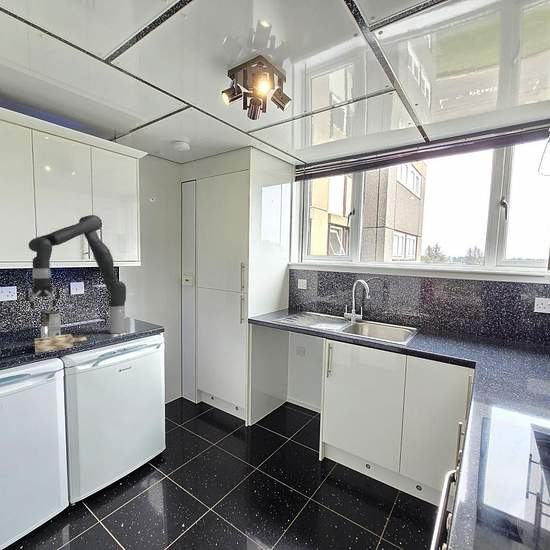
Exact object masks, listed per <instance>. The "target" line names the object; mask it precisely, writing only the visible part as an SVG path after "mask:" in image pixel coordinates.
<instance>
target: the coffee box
mask: <svg viewBox="0 0 550 550" xmlns="http://www.w3.org/2000/svg"><path fill="white" fill-rule="evenodd" d="M41 326H48V337H51V336H59V335H62V334H61V333H62V332H61V329H62V328H61V327H62V325H61V311H57V310H53V309H51V310H45V311H44V310H43V311H40V327H41Z"/></svg>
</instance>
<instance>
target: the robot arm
mask: <svg viewBox="0 0 550 550" xmlns="http://www.w3.org/2000/svg"><path fill="white" fill-rule="evenodd" d="M102 226H103V221H102V219H101V218H100V216H98V215H95V214H91V215H86V216H82V217H80V218H79V220H78V223H76V224H72V225H69V226H66V227H63V228H60V229H58V230H57V229H56V230H55V231H52V232H50V233H48V234H44V235H41V236H40V235H39V236H37V237H34V238H32V239H31V240H30V241H29V242H28V247H29V250H30V251H31V252H35V253H36V256H35V257H33V258H32V288H30V289H29V288H26V289H25V291H24V292H25V295H24V297H25V298H24V301H26V302H29V307H30V309H32V310H35V306H34V305H35V303H34V301H35V299H36V298H37V297H39V298H42V297H49V298H51V299H52V301H51V302H52V308H55V307H56V306H57V300H60V298H61V295H60V288H59V287H58V286H57V287H52V272H51V264H50V263H51V255H52V253H53V247H55V246H59V245H62V244H64V243H67V242H68V241H70V240H73V239H75V238H76V237H79V236H81V235H84V237H85V239H86V241H87V244H88V245H89V247H90V250H91V252H92V255H93V257H94V260H95V262H96V265H97V267H98V269H99V271H100V273H101V275H102V278H103V281H104V284H105V288H106V291H107V292H108V293H109V294H110V300H109V301H108V332H109V334H113V333H115V334H122V333H126V332H127V317H126V299H127V286H126V284H125V283H124V282H123V281H120V280H119V278H118V277H117V275H116V271H115V265H114V259H113V255H112V253H111V251H110V249H109V247H108V246H107V245H106V244H105V243H104V242H103V241H102V240H101V239H100V238H99V236H98V232H97V231H98V230H100V229H101V227H102ZM53 291H54V292H55V295H56V296H54V295H53V294H52V292H53ZM31 292H32V293H33V294H34V295H32V297H31V298H29V294H31ZM125 331H126V332H125Z"/></svg>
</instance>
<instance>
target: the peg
mask: <svg viewBox="0 0 550 550" xmlns="http://www.w3.org/2000/svg"><path fill="white" fill-rule="evenodd" d="M40 338H41V341H44V340H48V326H41V325H40Z"/></svg>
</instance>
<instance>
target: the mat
mask: <svg viewBox="0 0 550 550" xmlns="http://www.w3.org/2000/svg"><path fill="white" fill-rule="evenodd" d="M84 341H88V339H87V336H81V337H73V343H76V342H84Z"/></svg>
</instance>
